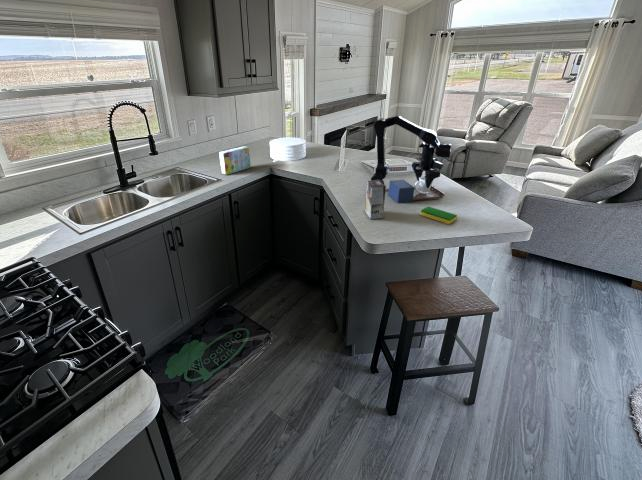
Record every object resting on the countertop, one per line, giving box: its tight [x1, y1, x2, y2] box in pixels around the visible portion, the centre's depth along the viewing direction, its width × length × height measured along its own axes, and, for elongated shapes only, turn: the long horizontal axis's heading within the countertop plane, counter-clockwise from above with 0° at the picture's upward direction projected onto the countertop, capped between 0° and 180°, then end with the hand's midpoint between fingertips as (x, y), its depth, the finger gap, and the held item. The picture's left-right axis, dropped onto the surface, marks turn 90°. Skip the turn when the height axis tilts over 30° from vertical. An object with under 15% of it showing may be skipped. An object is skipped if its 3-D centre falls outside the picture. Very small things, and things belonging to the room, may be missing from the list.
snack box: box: [218, 145, 252, 176], centre depth 223 cm, size 21×6×15 cm, turn 134°
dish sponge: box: [419, 205, 458, 225], centre depth 152 cm, size 7×14×2 cm, turn 41°
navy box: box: [388, 179, 446, 204], centre depth 173 cm, size 25×13×8 cm, turn 97°
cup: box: [413, 175, 434, 194], centre depth 173 cm, size 7×10×8 cm
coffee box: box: [364, 179, 387, 220], centre depth 153 cm, size 9×6×16 cm
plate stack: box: [269, 136, 307, 162], centre depth 255 cm, size 28×28×12 cm
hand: (423, 184), depth 173 cm, fingers open, 9 cm apart
